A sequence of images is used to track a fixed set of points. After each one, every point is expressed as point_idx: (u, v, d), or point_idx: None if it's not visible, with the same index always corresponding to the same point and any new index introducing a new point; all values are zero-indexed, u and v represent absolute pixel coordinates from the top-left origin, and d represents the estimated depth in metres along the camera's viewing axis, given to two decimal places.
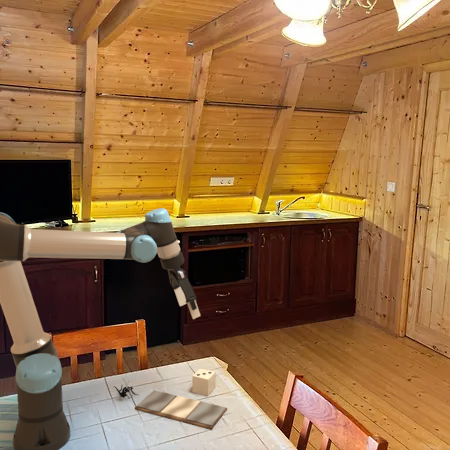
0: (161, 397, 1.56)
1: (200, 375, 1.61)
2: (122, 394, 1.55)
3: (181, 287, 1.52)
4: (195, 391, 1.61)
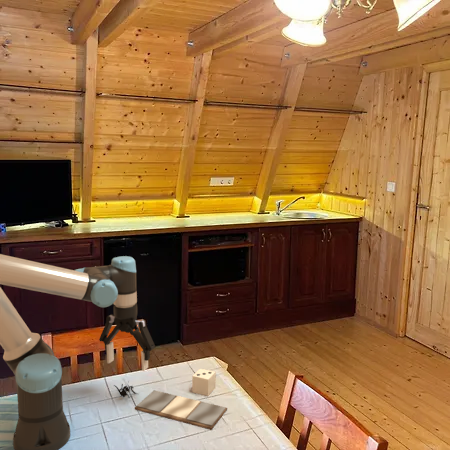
0: (161, 397, 1.56)
1: (200, 375, 1.61)
2: (122, 393, 1.55)
3: (137, 337, 1.52)
4: (195, 391, 1.61)
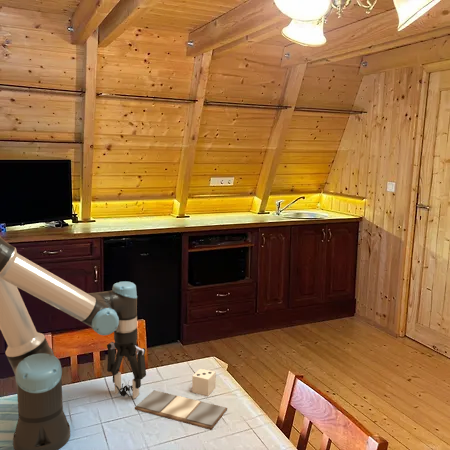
0: (161, 397, 1.56)
1: (200, 375, 1.61)
2: (122, 393, 1.56)
3: (133, 364, 1.54)
4: (195, 391, 1.61)
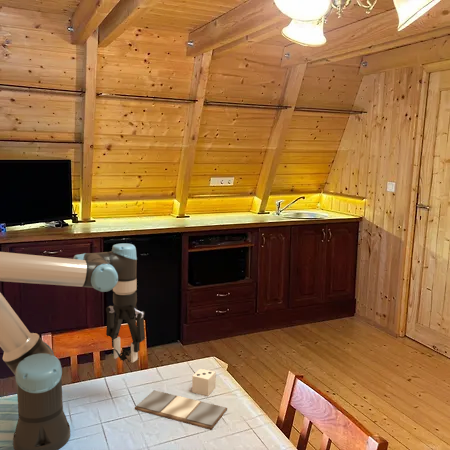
0: (161, 397, 1.56)
1: (200, 375, 1.61)
2: (122, 357, 1.54)
3: (132, 327, 1.52)
4: (195, 391, 1.61)
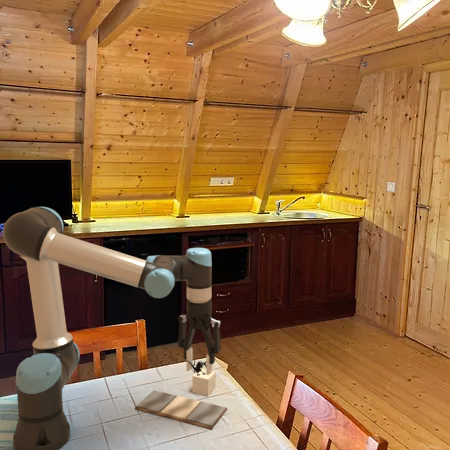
0: (161, 397, 1.56)
1: (200, 375, 1.61)
2: (197, 369, 1.43)
3: (208, 338, 1.42)
4: (195, 391, 1.61)
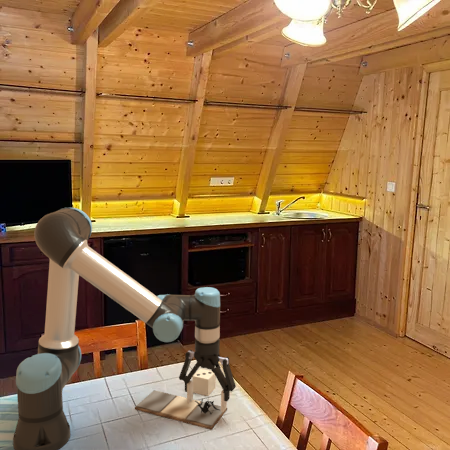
0: (161, 397, 1.56)
1: (200, 375, 1.61)
2: (204, 409, 1.44)
3: (219, 376, 1.42)
4: (195, 391, 1.61)
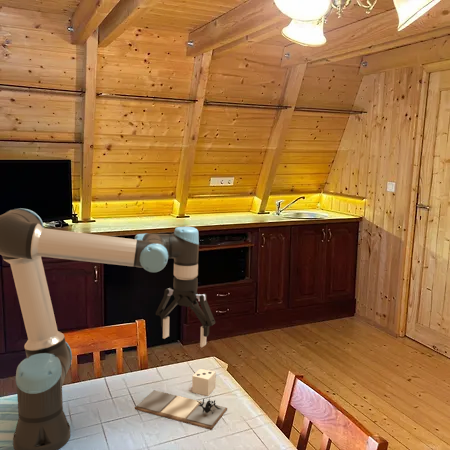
0: (161, 397, 1.56)
1: (200, 375, 1.61)
2: (207, 409, 1.44)
3: (197, 311, 1.45)
4: (195, 391, 1.61)
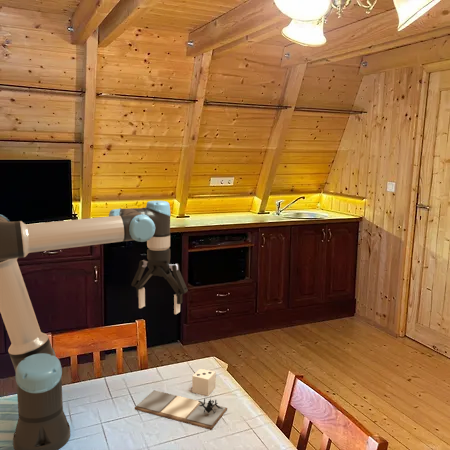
0: (161, 397, 1.56)
1: (200, 375, 1.61)
2: (208, 409, 1.45)
3: (171, 280, 1.53)
4: (195, 391, 1.61)
